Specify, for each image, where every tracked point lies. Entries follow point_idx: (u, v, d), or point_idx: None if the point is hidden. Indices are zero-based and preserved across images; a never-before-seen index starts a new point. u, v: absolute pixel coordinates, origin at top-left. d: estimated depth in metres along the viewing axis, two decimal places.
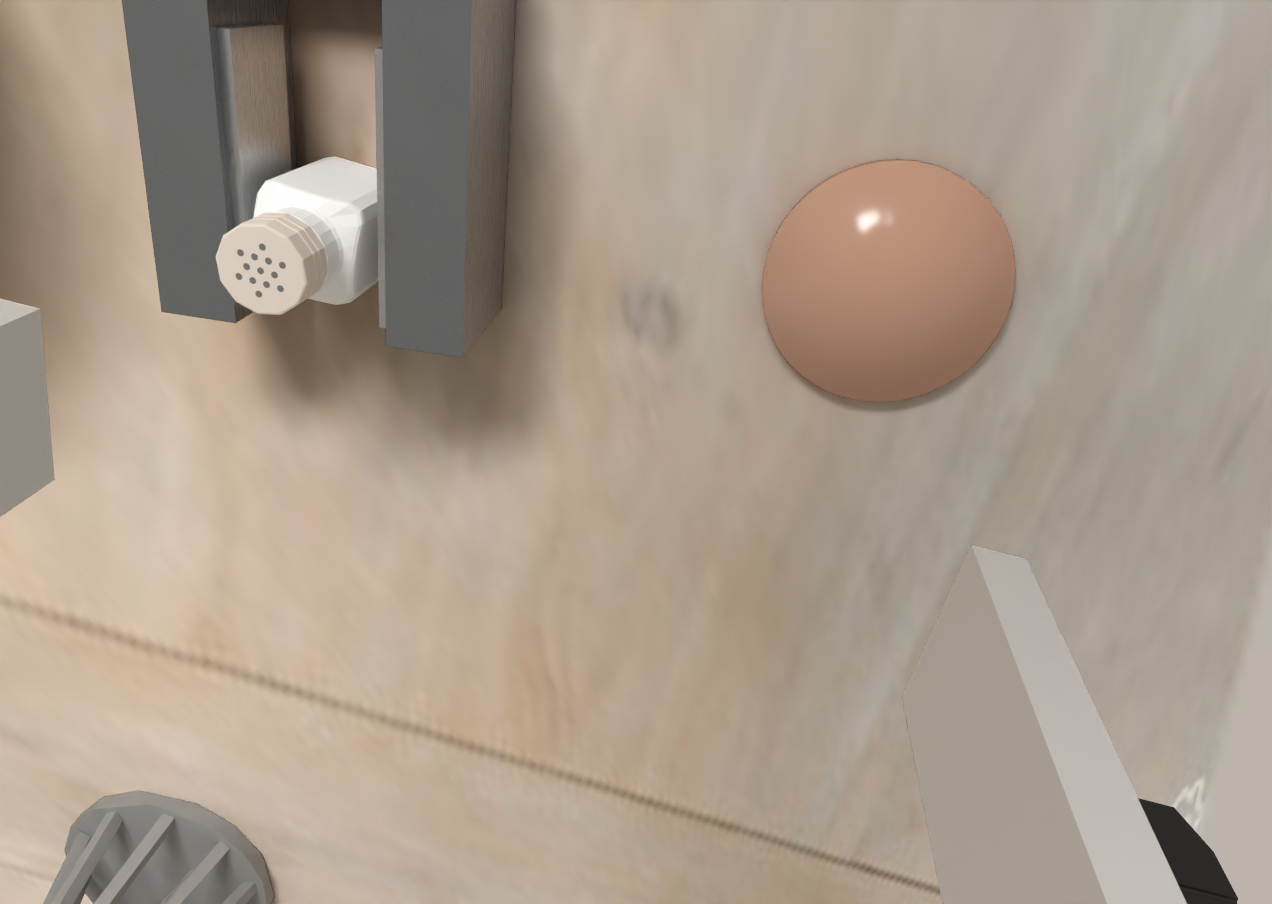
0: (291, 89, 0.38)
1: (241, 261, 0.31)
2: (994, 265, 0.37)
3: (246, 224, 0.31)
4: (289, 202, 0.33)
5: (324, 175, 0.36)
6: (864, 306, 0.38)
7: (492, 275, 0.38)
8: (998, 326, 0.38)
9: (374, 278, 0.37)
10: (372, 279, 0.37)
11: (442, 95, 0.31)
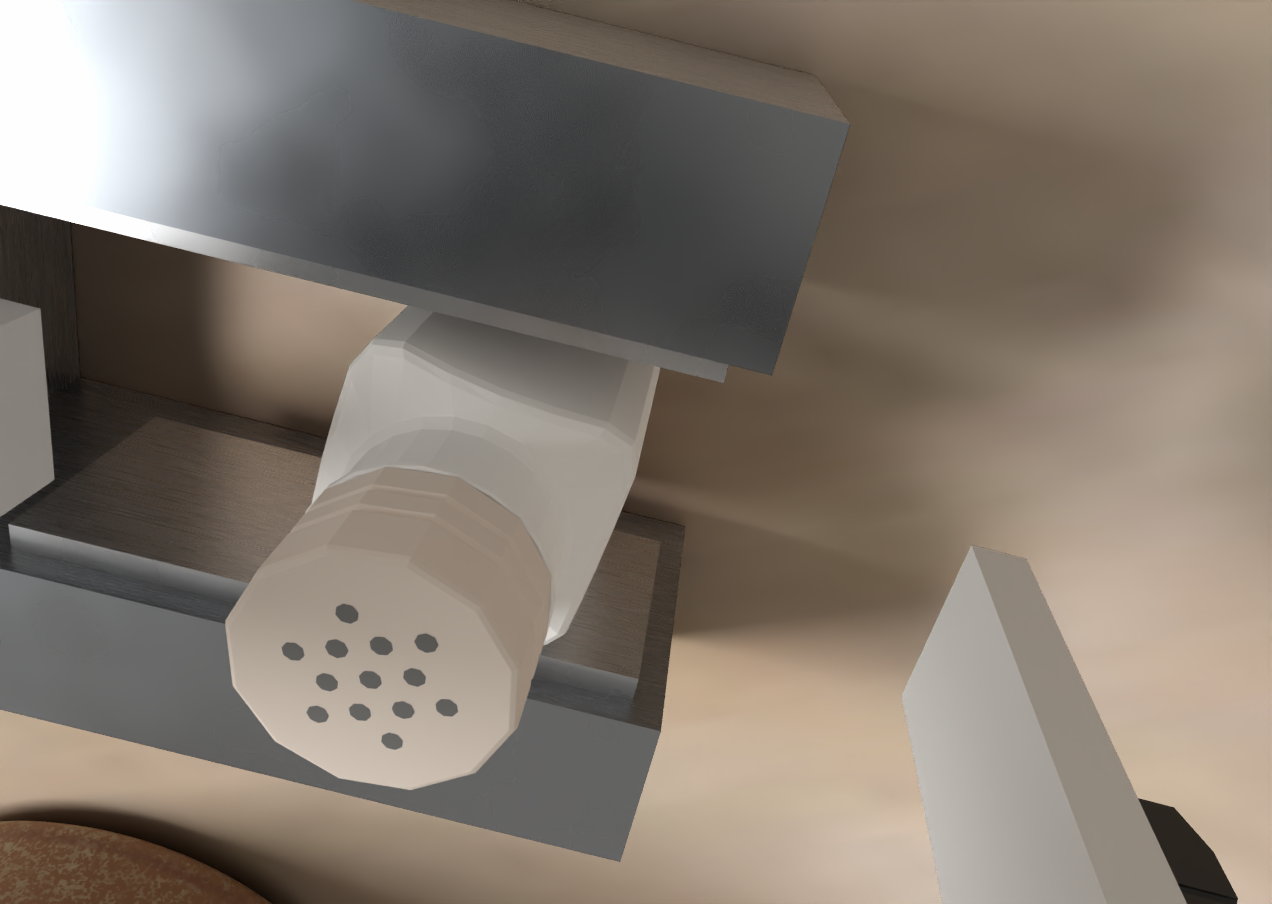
0: (309, 438, 0.19)
1: (344, 718, 0.10)
2: None
3: (232, 670, 0.10)
4: None
5: None
6: None
7: (687, 52, 0.14)
8: None
9: (621, 365, 0.14)
10: (618, 370, 0.14)
11: (10, 8, 0.10)
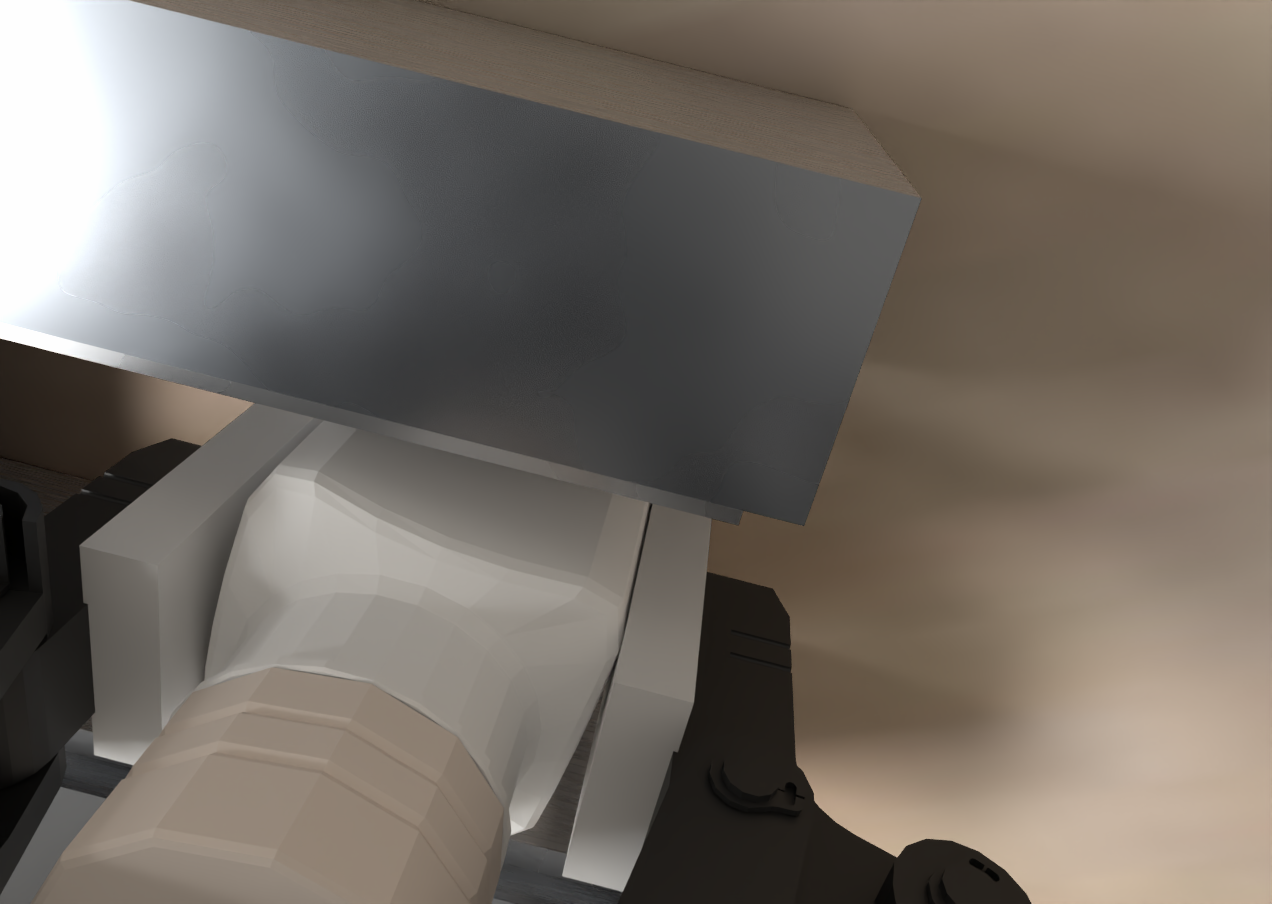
0: None
1: None
2: None
3: None
4: None
5: None
6: None
7: (694, 83, 0.11)
8: None
9: None
10: None
11: None
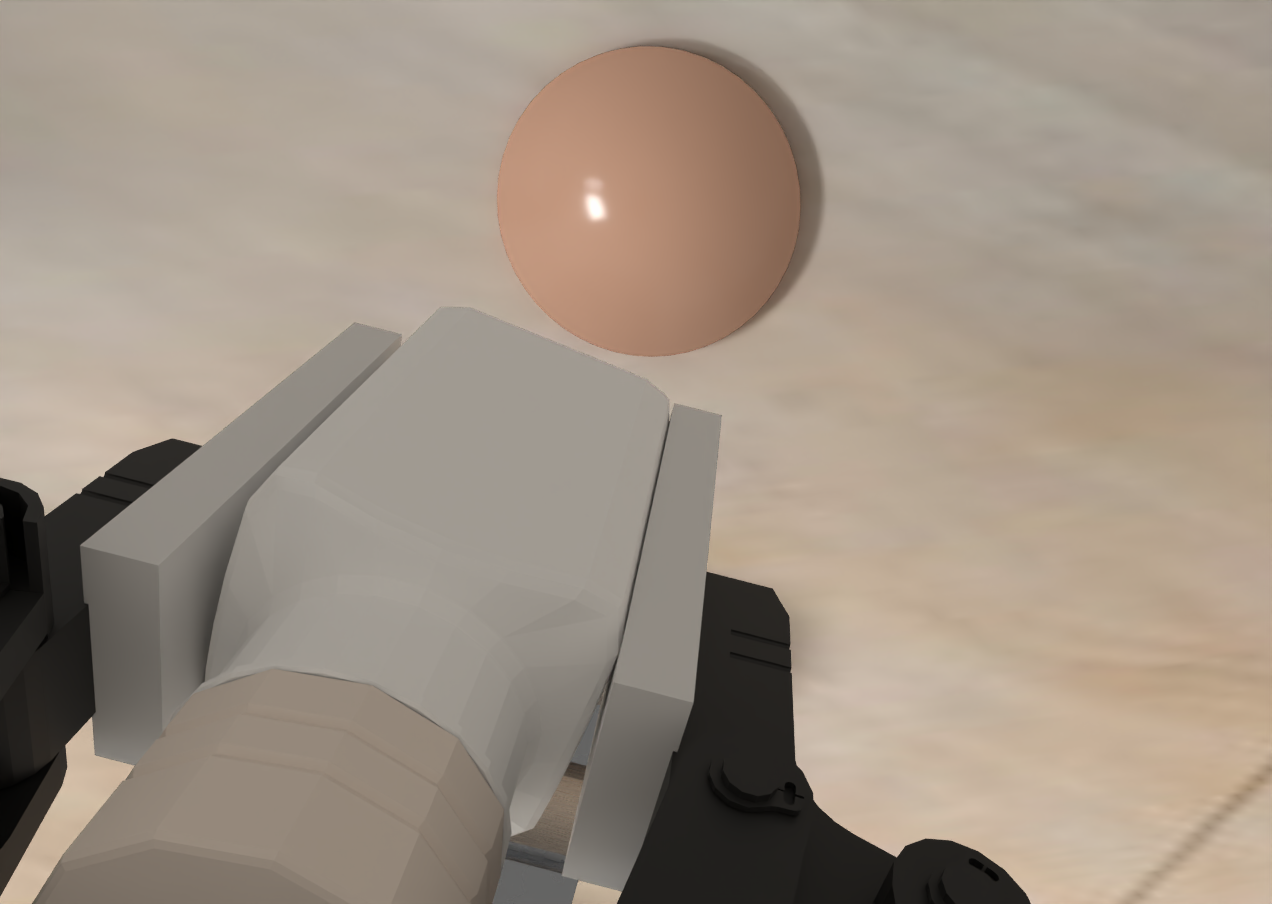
0: None
1: None
2: (625, 76, 0.29)
3: None
4: None
5: None
6: (666, 239, 0.31)
7: None
8: (707, 66, 0.28)
9: (610, 482, 0.11)
10: (605, 490, 0.11)
11: None
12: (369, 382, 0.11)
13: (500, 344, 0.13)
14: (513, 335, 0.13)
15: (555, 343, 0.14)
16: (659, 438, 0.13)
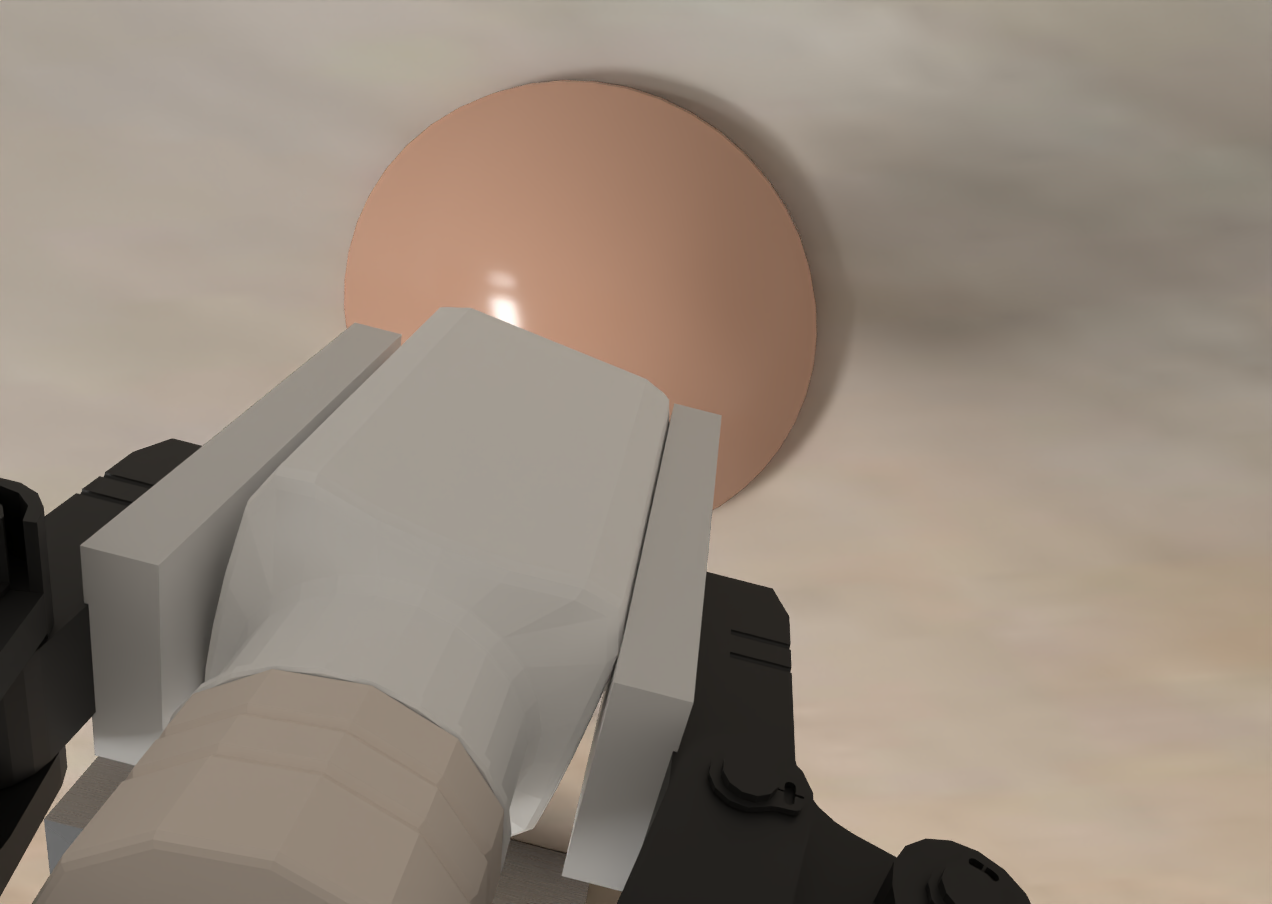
0: None
1: None
2: (533, 128, 0.18)
3: None
4: None
5: None
6: None
7: (511, 897, 0.26)
8: (665, 114, 0.17)
9: (610, 482, 0.11)
10: (605, 491, 0.11)
11: None
12: (369, 382, 0.11)
13: (499, 345, 0.13)
14: (513, 335, 0.13)
15: (555, 343, 0.14)
16: (659, 438, 0.13)
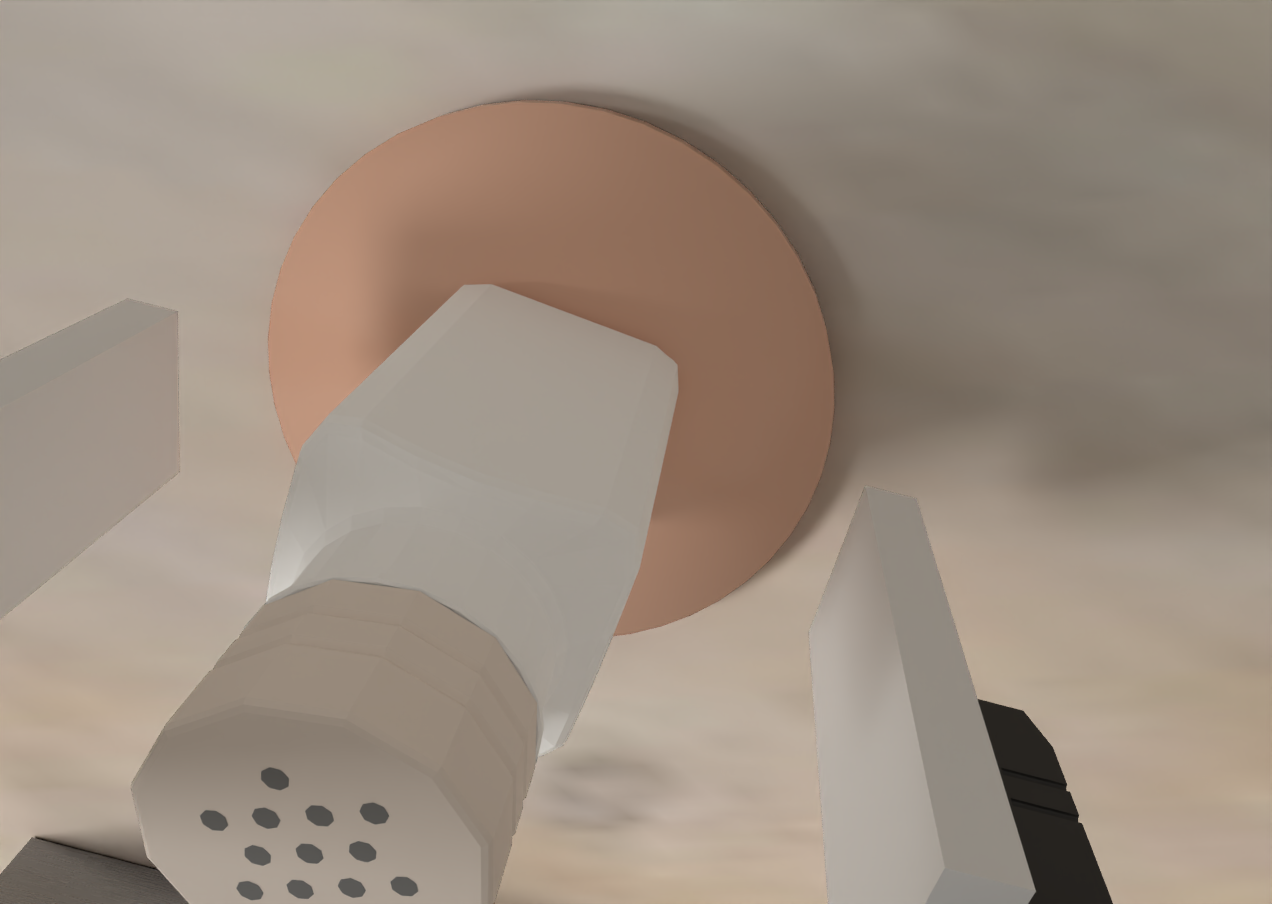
0: None
1: (282, 897, 0.08)
2: (489, 159, 0.15)
3: (145, 839, 0.08)
4: None
5: None
6: None
7: None
8: (650, 142, 0.14)
9: (624, 431, 0.12)
10: (619, 437, 0.12)
11: None
12: (403, 347, 0.12)
13: (519, 316, 0.14)
14: (531, 307, 0.14)
15: (570, 315, 0.15)
16: (669, 397, 0.14)
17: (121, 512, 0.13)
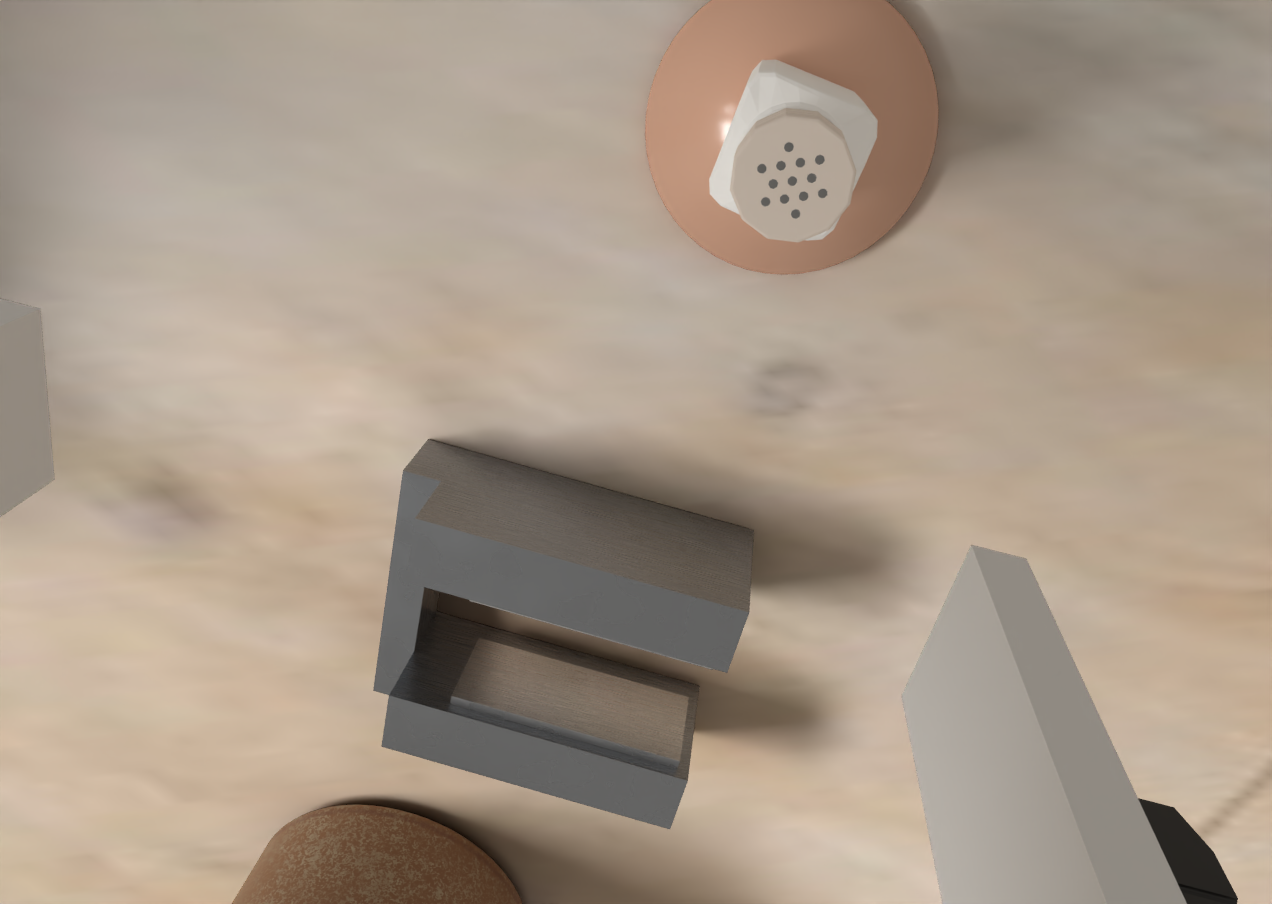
0: (536, 642, 0.44)
1: (776, 203, 0.24)
2: None
3: (731, 182, 0.24)
4: (733, 161, 0.27)
5: None
6: None
7: (704, 539, 0.38)
8: None
9: (859, 100, 0.28)
10: (859, 101, 0.28)
11: (503, 564, 0.35)
12: (762, 66, 0.28)
13: (795, 69, 0.30)
14: (797, 69, 0.30)
15: (814, 75, 0.31)
16: (866, 106, 0.30)
17: None
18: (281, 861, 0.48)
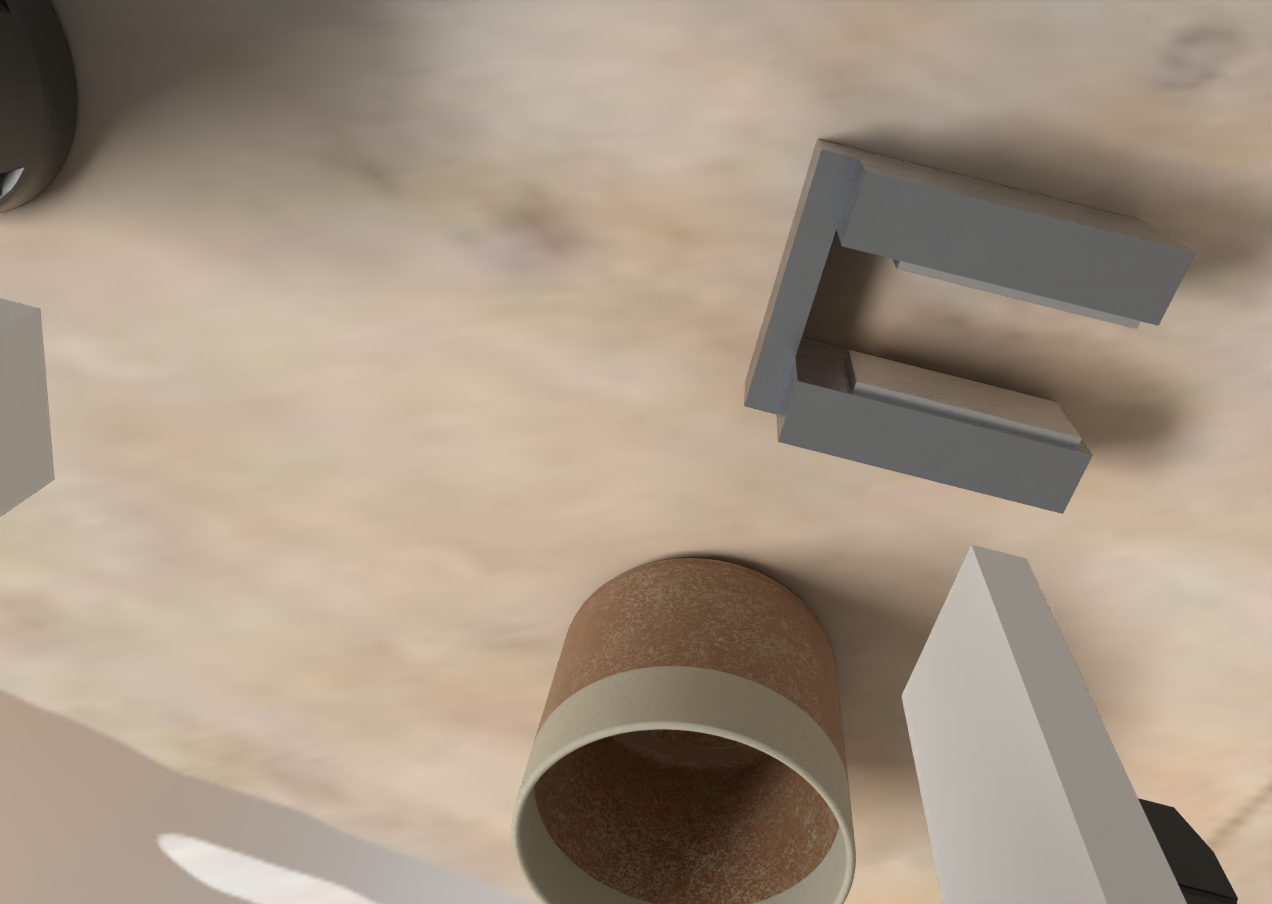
0: (893, 361, 0.45)
1: None
2: None
3: None
4: None
5: None
6: None
7: (1107, 216, 0.39)
8: None
9: None
10: None
11: (948, 217, 0.36)
12: None
13: None
14: None
15: None
16: None
17: None
18: (621, 604, 0.49)
